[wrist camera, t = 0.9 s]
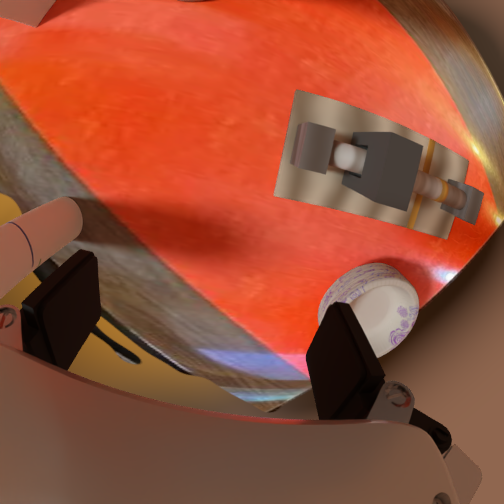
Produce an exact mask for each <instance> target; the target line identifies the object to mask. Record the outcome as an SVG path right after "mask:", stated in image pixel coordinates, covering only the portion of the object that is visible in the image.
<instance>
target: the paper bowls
mask: <svg viewBox="0 0 504 504" xmlns="http://www.w3.org/2000/svg"><path fill="white" fill-rule="evenodd" d="M336 301H337V302H343V303H349V304H350V306H351V308H352V310H353V312H354V314H355V315H356V317H357V319H358V321H359V323H360V325H361V327H362V329H363V331H364V333H365V335H366V337H367V339H368V341H369V343H370V345H371V347H372V349H373V351H374V353H375V355H376V357H377V358H378V357H380V356H382V355H384V354H386V353H388V352H389V351H391V350H392V349H394V348H395V347H396V346H397V345H398V344H399V343H401V341H402V340H403V339H404V338H405V337H406V336H407V335H408V333H409V332H410V330H411V329H412V327H413V325H414V323H415V321H416V318H417V315H418V311H419V298H418V294H417V292H416V290H415V288H414V287H413V285H412V284H411V283H410V282H409V281H408V280H407V279H406V278H405V277H404V276H403V275H402V274H401V273H400V272H399V271H398V270H396V269H395V268H394V267H392V266H390V265H387V264H384V263H370V264H365V265H362V266H358V267H356V268H354V269H352V270H350V271H349V272H347V273H345V274H344V275H343V276H341V277H340V278H339V279H337V280H336V281H335V282H334V283H333V285H332V286H331V287H330V288H329V289H328V290H327V292H326V293H325V295H324V297H323V299H322V301H321V303H320V306H319V310H318V322H319V326H320V324H321V321H322V319H323V317H324V315H325V313H326V310H327V308H328V306H329V305H330V304H333V303H334V302H336Z"/></svg>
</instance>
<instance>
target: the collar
mask: <svg viewBox="0 0 504 504" xmlns="http://www.w3.org/2000/svg"><path fill="white" fill-rule="evenodd" d="M351 145H353V146H356V147H359V148H362V149H365V150H367V154H366V158H365V162H364V166H363V171H362V175H361V174H358V173H354V172H351V171H348V170H345V171H344V175H343V179H342V183H341V184H342V185H344V186H346V187H348V188H350V189H352V190H354V191H355V192H357V193H359V194H361V195H363V196H364V197H366V198H368V199H370V200H372V201H373V202H376V203H379V204H383V205H386V206H389V207H393V208H396V209H399V210H402V211H406V212H407V209H408V206H409V202H410V199H411V195H412V192H413V188H414V184H415V180H416V176H417V172H418V168H419V164H420V160H421V155H422V150H423V146H422V145H420V144H418V143H416V142H414V141H411V140H409V139H407V138H405V137H402V136H400V135H398V134H395V133H393V132H353V136H352V140H351Z"/></svg>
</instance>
